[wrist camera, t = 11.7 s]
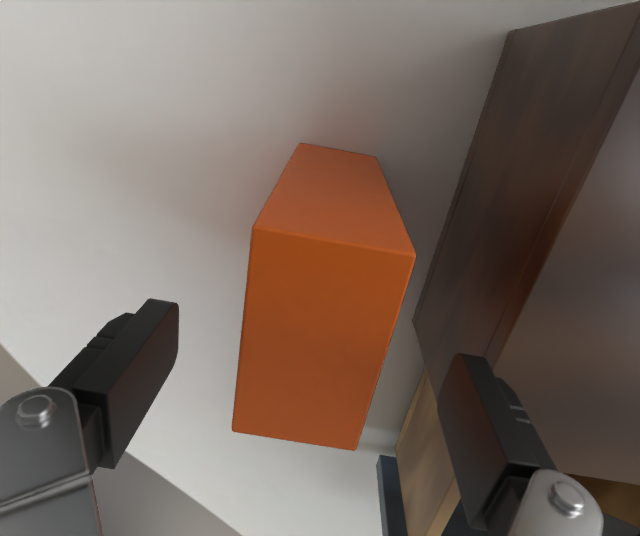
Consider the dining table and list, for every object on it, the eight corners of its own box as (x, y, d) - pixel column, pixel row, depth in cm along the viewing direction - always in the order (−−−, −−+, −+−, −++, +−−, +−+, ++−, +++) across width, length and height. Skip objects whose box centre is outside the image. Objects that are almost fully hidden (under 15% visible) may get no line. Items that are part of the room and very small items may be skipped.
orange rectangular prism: (348, 276, 23) (356, 452, 13) (281, 264, 23) (230, 432, 12) (376, 156, 20) (418, 254, 9) (298, 142, 20) (251, 225, 9)
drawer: (528, 527, 32) (582, 657, 25) (363, 501, 31) (369, 626, 24) (659, 337, 23) (797, 452, 16) (435, 297, 23) (478, 399, 16)
